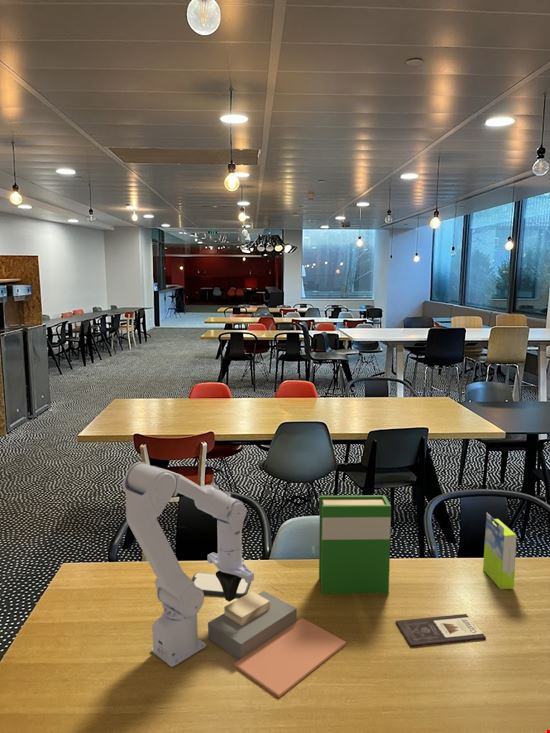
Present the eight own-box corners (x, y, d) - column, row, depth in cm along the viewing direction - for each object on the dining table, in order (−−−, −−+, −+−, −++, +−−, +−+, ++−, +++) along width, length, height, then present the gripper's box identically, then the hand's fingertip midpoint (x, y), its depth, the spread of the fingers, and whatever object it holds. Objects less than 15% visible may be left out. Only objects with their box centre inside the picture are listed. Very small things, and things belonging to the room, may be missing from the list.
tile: (242, 625, 120) (241, 617, 120) (224, 614, 124) (224, 606, 124) (269, 608, 127) (269, 600, 126) (252, 598, 131) (252, 591, 131)
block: (241, 661, 114) (241, 644, 114) (208, 638, 122) (208, 622, 121) (296, 623, 127) (296, 608, 127) (263, 605, 135) (263, 590, 134)
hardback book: (321, 593, 140) (322, 506, 137) (318, 578, 148) (319, 495, 144) (388, 593, 140) (391, 506, 137) (382, 578, 148) (384, 495, 144)
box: (514, 589, 142) (518, 527, 140) (499, 590, 142) (503, 528, 139) (495, 569, 152) (498, 511, 150) (481, 569, 152) (484, 511, 150)
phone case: (251, 582, 147) (195, 577, 149) (251, 576, 147) (195, 571, 149) (245, 600, 138) (185, 594, 141) (245, 594, 138) (185, 589, 140)
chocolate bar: (395, 620, 128) (466, 613, 130) (395, 624, 128) (466, 617, 130) (410, 645, 119) (485, 637, 122) (410, 649, 119) (485, 641, 122)
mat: (279, 697, 104) (279, 694, 104) (234, 666, 113) (234, 663, 113) (346, 644, 120) (346, 641, 120) (302, 620, 129) (302, 617, 129)
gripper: (263, 550, 126) (263, 603, 127) (222, 531, 135) (223, 581, 137) (241, 561, 121) (241, 616, 122) (200, 540, 130) (201, 592, 132)
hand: (230, 599), depth 129 cm, fingers closed
